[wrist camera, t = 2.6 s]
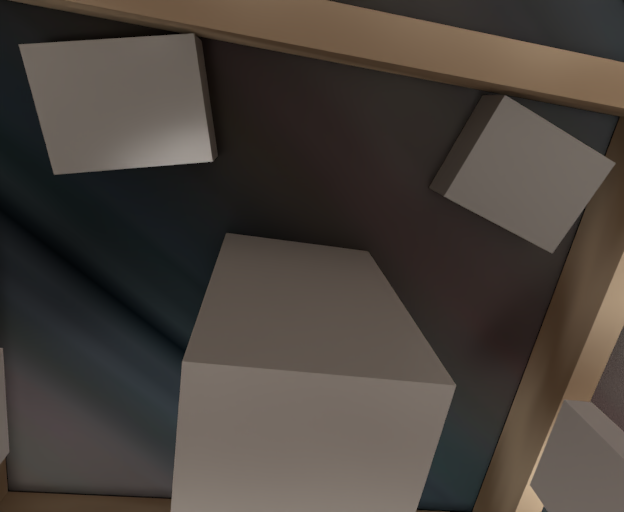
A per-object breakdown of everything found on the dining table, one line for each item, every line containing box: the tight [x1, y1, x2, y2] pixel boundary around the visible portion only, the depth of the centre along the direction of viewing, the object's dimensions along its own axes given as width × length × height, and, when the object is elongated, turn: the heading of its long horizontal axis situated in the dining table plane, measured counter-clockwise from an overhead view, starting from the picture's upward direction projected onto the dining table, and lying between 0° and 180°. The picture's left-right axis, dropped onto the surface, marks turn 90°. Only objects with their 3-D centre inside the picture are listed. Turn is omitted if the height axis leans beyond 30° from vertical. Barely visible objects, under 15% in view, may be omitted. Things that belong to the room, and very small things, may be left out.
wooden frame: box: [0, 0, 624, 512], centre depth 13 cm, size 18×20×2 cm
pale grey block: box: [171, 233, 456, 512], centre depth 11 cm, size 6×4×7 cm
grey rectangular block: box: [429, 95, 616, 253], centre depth 13 cm, size 3×4×2 cm
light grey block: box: [19, 33, 218, 175], centre depth 11 cm, size 3×4×2 cm
